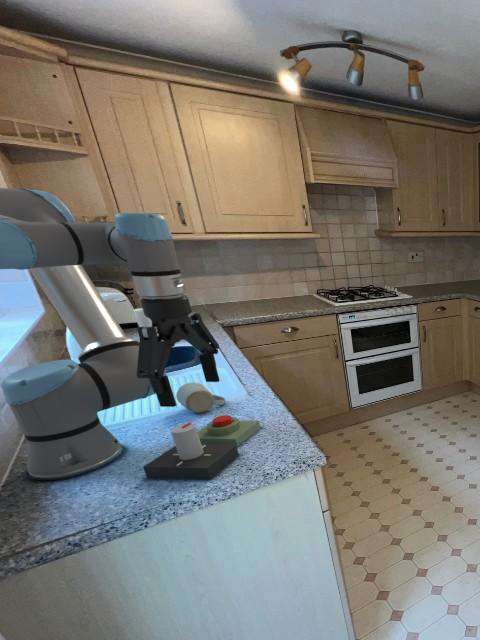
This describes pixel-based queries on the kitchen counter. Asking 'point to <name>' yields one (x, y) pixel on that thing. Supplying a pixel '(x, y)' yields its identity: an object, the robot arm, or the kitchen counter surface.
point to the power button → (222, 421)
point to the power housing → (228, 432)
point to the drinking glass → (142, 318)
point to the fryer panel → (192, 463)
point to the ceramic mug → (197, 398)
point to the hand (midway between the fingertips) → (192, 393)
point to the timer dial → (187, 441)
